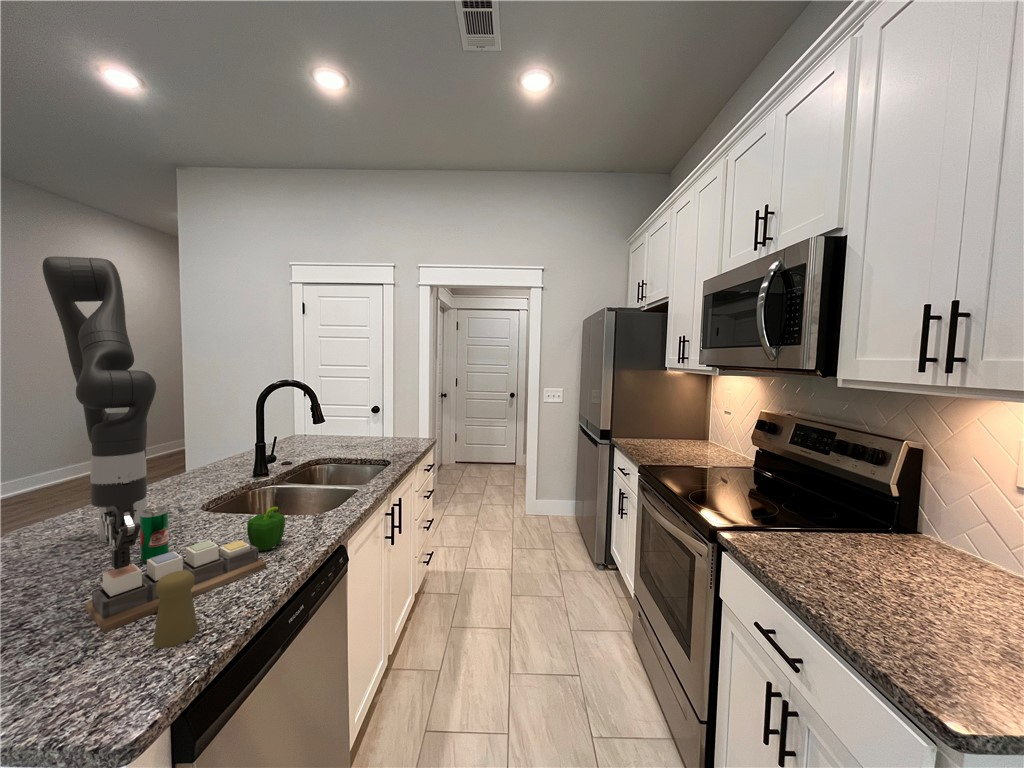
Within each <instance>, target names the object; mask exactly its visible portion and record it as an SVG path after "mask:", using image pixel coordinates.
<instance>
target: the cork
mask: <svg viewBox="0 0 1024 768" xmlns="http://www.w3.org/2000/svg"><path fill="white" fill-rule="evenodd" d="M194 581H195V578H194V575H193V574H192V573H191V572H190V571H185V570H182V571H175V572H172V573H169V574H167V575H165V576H163V577H162V578H160V579H159V581H158V582H157V584H156V587H155V592H156V594H157V596H158V597H159V598H160V600H159V607H158V612H156V613H157V614H156V621H155V622H156V623H155V628H154V632H153V633H154V634H153V640H152V645H153V647H155V648H157V649H166V648H172V647H176V646H179V645H181V644H183V643H185V642H187V641H189V640H191V639H192V638H194V637H195V636H196V634H197V633H198V631H199V625H198V622H197V621H198V620H197V615H196V610H195V605H194V600H193V598H192V594H191V589H192V587H193V585H194Z"/></svg>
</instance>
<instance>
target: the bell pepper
mask: <svg viewBox="0 0 1024 768" xmlns="http://www.w3.org/2000/svg"><path fill="white" fill-rule="evenodd" d="M278 510H279V507H278V506H273V507H269V508H268V509H267V510H266V511H265V514H260V513H259V514H256V515H255V516H254V517H253V518H249V519H248V521H247V524H246V531H247V537H248V540H249V544H251V545H253V546H255V547H257V548H258V552H263V551H265V552H266V551H269V550H273V548H275V547H276V546H277V545H279V544H280V543H281V541H282V540H283V536H284V532H285V529H286V518H285V516H284V515H283V514H281V513H280V512H278ZM273 511H274V512H273Z"/></svg>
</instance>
